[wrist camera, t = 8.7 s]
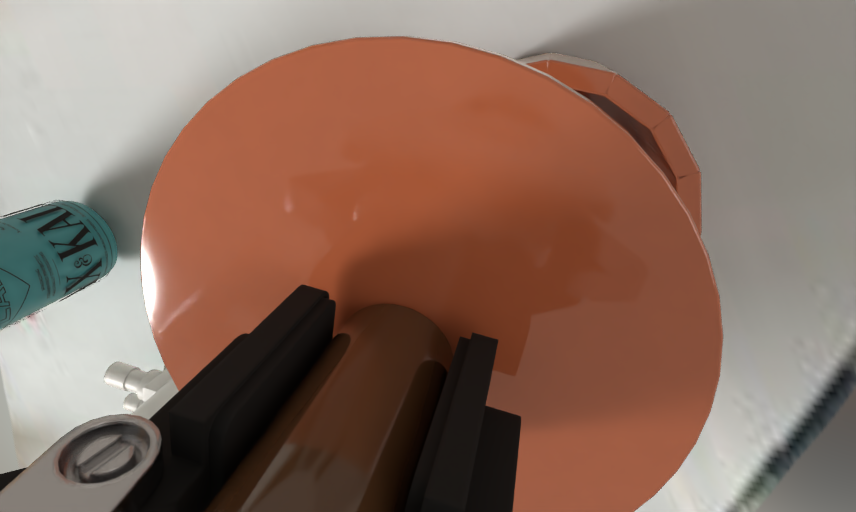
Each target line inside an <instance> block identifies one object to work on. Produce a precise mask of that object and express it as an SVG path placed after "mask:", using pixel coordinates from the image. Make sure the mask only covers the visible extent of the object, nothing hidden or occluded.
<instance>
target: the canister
mask: <svg viewBox="0 0 856 512" xmlns="http://www.w3.org/2000/svg"><path fill="white" fill-rule="evenodd" d="M516 60H517V61H519V62H521V63H524V64H526V65H528V66H531V67H533V68H535V69H537V70H540V71H542V72H544V73H547V74H549V75H551V76H552V77H554V78H555V79H557V80H559V81H560V82H562V83H563V84H565V85H567V86H568V87H570V88H572V89H573V90H575V91H576V92H578V93H580V94H581V95H583V96H584V97H586V98H588V99H589V100H591V101H592V102H593V103H594V104H596V105H597V106H598V107H599V108H600V109H602V110H603V111H604V112H605V113H606V114H607V115H609V116H610V117H611V118H612V119H613V120H615V121H616V122H617V123H618V124H619V125H621V126H622V127H623V128H624V129H625V130H627V131H628V132H629V133H630V135H631V136H632V137H633V138H634V139H635V140H636V141H637V142H638V144H639V145H640V146H641V147H642V148H643V149H644V150H645V151H646V153H647V154H648V155H649V156H650V157H651V158H652V159H653V160H654V162H655V163H656V164H657V165H658V166H659V167H660V169H661V170H662V171H663V172H664V174H665V175H666V177H667V178H668V180H669V181H670V183H671V185H672V186H673V188H674V189H675V191H676V192H677V194H678V195H679V197H680V198H681V200H682V201H683V203H684V205H685V206H686V208H687V209H688V211H689V212H690V214H691V216H692V218H693V221H694V223H695V225H696V227H697V230H698V232H699V234H700V236H701V232H702V219H701V172H700V169H699V167H698V165H697V163H696V161H695V159H694V157H693V155H692V153H691V151H690V149H689V147H688V145H687V143H686V141H685V139H684V137H683V135H682V133H681V132H680V130H679V128H678V126H677V124H676V122H675V120H674V118H673V116H672V115H671V114H670V113H669V111H667V110H666V109H665V108H663V107H662V106H661V105H659V104H658V103H657V102H655V101H654V100H653V99H651V98H650V97H648V96H647V95H646V94H644V93H643V92H642V91H640V90H639V89H638V88H636V87H635V86H634V85H632V84H631V83H630V82H628V81H627V80H626V79H624V78H623V77H622V76H620V75H619V74H617V73H615V72H613V71H612V70H610V69H608V68H606V67H604V66H603V65H601V64H599V63H597V62H595V61H592V60H587V59H582V58H577V57H573V56H567V55H563V54H558V53H545V54H540V55H535V56H530V57H526V58H521V59H516Z"/></svg>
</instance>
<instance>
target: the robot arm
mask: <svg viewBox="0 0 856 512" xmlns="http://www.w3.org/2000/svg"><path fill="white" fill-rule="evenodd" d="M335 311H336V302H335V301H334V300H331V299H329V293H328V292H327V291H324V290H321V289H317V288H314V287H310V286H307V285H300V286H299V287H297V288H296V289H295V290H294V291H293V292H292V293H291V294H290V295H289V296H288V297H287V298H286V299H285V300H284V301H283V302H282V303H281V304H280V305H279V306H278V307H277V308H276V309H275V310H274V311H273V312H271V313H270V314H269V315H268V316H267V317H266V318H265V319H264V320H263V321H262V322H261V323H260V324H259V325H258V326H257V327H256V328H255V329H254V330H253V331H252V332H251V333H250V334H248V333H245V334H241V335H240V336H238V337H237V338H235V339H234V340H233V341H232V342H231V343H230V344H229V345H228V346H227V347H226V348H225V349H224V350H223V351H221V352H220V353H219V354H218V355H217V356H216V357H215V358H214V359H213V360H212V361H211V362H210V363H209V364H208V365H207V366H205V367H204V368H203V369H202V370H201V371H200V372H199V373H198V374H197V375H196V376H195V377H194V378H193V379H192V380H190V381H189V382H188V383H187V384H186V385H185V386H184V387H183V388H182V389H181V390H180V391H178V389H177V387H176V385H175V383H174V381H173V380H172V378H171V376H170V374H169V372H168V370H167V368H166V366H164V370H163V371H159V370H151V371H149V372H145V371H142V370H141V369H139V368H137V367H134V366H131V365H128V364H125V363H122V362H115V363H113V364H112V365H111V366H110V367H109V368H108V369H107V371H106V373H105V376H104V382H105V383H106V384H107V385H110V386H113V387H116V388H119V389H122V390H125V391H132V392H135V393H137V394H135V393H130V394H129V395H128V396H127V397H126V398H125V400H124V402H123V408H124V409H126V410H129V411H132V412H133V413H132V414H130V415H129V414H119V415H108V416H105V417H101V418H97V419H93V420H91V421H88V422H86V423H84V424H82V425H80V426H78V427H75V428H74V429H73V430H71V431H70V432H68V433H67V434H66V435H64V436H63V437H61V438H60V439H59V440H58V441H57V442H56V443H54V444H53V445H52V446H51V447H50V448H49V449H48V450H47V451H45V452H44V453H43V454H42V455H41V456H40V457H39V458H38V459H36V460H35V461H34V462H33V463H32V464H31V465H30V466H29V467H27V468H23V469H19V470H15V471H11V472H7V473H4V474H0V512H204V510H205V509H206V508H207V506H208V505H209V504H210V502H211V501H212V500H213V498H214V497H215V496H216V494H217V493H218V492H219V490H220V489H221V488H222V486H223V485H224V484H225V482H226V481H227V480H228V478H229V477H230V476H231V474H232V473H233V472H234V470H235V469H236V468H237V466H238V465H239V463H240V462H241V461H242V459H243V458H244V457H245V455H246V454H247V453H248V451H249V450H250V449H251V447H252V446H253V445H254V443H255V442H256V441H257V439H258V438H259V437H260V435H261V434H262V433H263V431H264V430H265V429H266V427H267V426H268V425H269V423H270V422H271V421H272V419H273V418H274V417H275V415H276V414H277V413H278V411H279V410H280V409H281V407H282V406H283V405H284V403H285V402H286V401H287V399H288V398H289V397H290V395H291V394H292V393H293V391H294V390H295V389H296V387H297V386H298V384H299V383H300V382H301V380H302V379H303V378H304V376H305V375H306V374H307V372H308V371H309V370H310V368H311V367H312V366H313V364H314V363H315V362H316V360H317V359H318V358H319V356H320V355H321V354H322V352H323V351H324V350H325V348H326V347H327V346H328V344H329V343H330V342H331V340H332V339H333V329H334V320H335ZM497 345H498V339H495V338H491V337H487V336H484V335H480V334H477V333H473V332H472V335H471V338H470V339H468V338H465V337H461V336H460V338H459V341H458V344H457V347H456V350H455V353H454V356H453V359H452V362H451V365H450V368H449V371H448V374H447V377H446V381H445V384H444V387H443V390H442V393H441V396H440V399H439V402H438V405H437V408H436V411H435V414H434V417H433V420H432V423H431V426H430V429H429V432H428V435H427V438H426V441H425V444H424V447H423V450H422V453H421V456H420V459H419V462H418V465H417V469H416V472H415V475H414V478H413V481H412V485H411V488H410V492H409V495H408V499H407V503H406V507H405V512H513V502H514V492H515V482H516V471H517V461H518V451H519V440H520V430H521V416H519V415H515V414H512V413H509V412H506V411H502V410H499V409H496V408H492V407H489V406H486V401H487V396H488V391H489V386H490V381H491V376H492V371H493V365H494V360H495V355H496V350H497Z"/></svg>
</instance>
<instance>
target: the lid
mask: <svg viewBox="0 0 856 512" xmlns="http://www.w3.org/2000/svg"><path fill="white" fill-rule="evenodd" d="M140 256H141V282H142V288H143V294H144V301H145V307H146V312H147V315H148V319H149V322H150V326H151V329H152V333H153V336H154V339H155V342H156V344H157V347H158V349H159V352H160V354H161V357H162V359H163V362H164V364H165V366H166V368H167V370H168V372H169V374H170V376H171V378H172V380H173V381H174V383H175V385H176V387H177V389H178V391H180V390H181V389H182V388H183V387H184V386H185V385H186V384H187V383H188V382H189V381H190V380H192V379H193V378H194V377H195V376H196V375H197V374H198V373H199V372H200V371H201V370H202V369H203V368H204V367H205V366H207V365H208V364H209V363H210V362H211V361H212V360H213V359H214V358H215V357H216V356H217V355H218V354H219V353H220V352H221V351H223V350H224V349H225V348H226V347H227V346H228V345H229V344H230V343H231V342H232V341H233V340H234V339H235V338H237V337H238V336H240V335H241V334H245V333H248V334H250V333H251V332H252V331H253V330H254V329H255V328H256V327H257V326H258V325H259V324H260V323H261V322H262V321H263V320H264V319H265V318H266V317H267V316H268V315H269V314H270V313H271V312H273V311H274V310H275V309H276V308H277V307H278V306H279V305H280V304H281V303H282V302H283V301H284V300H285V299H286V298H287V297H288V296H289V295H290V294H291V293H292V292H293V291H294V290H295V289H296V288H297V287H299V286H300V285H307V286H310V287H314V288H317V289H321V290H324V291H327V292H328V293H329V299H331V300H334V301H335V302H336V311H335V320H334V329H333V339H332V340H331V342H330V343H329V344H328V346H327V347H326V348H325V350H324V351H323V352H322V354H321V355H320V356H319V358H318V359H317V360H316V362H315V363H314V364H313V366H312V367H311V368H310V370H309V371H308V372H307V374H306V375H305V376H304V378H303V379H302V380H301V382H300V383H299V384H298V386H297V387H296V389H295V390H294V391H293V393H292V394H291V395H290V397H289V398H288V399H287V401H286V402H285V403H284V405H283V406H282V407H281V409H280V410H279V411H278V413H277V414H276V415H275V417H274V418H273V419H272V421H271V422H270V423H269V425H268V426H267V427H266V429H265V430H264V431H263V433H262V434H261V435H260V437H259V438H258V439H257V441H256V442H255V443H254V445H253V446H252V447H251V449H250V450H249V451H248V453H247V454H246V455H245V457H244V458H243V459H242V461H241V462H240V463H239V465H238V466H237V468H236V469H235V470H234V472H233V473H232V474H231V476H230V477H229V478H228V480H227V481H226V482H225V484H224V485H223V486H222V488H221V489H220V490H219V492H218V493H217V494H216V496H215V497H214V498H213V500H212V501H211V502H210V504H209V505H208V506H207V508H206V509H205V510H204V512H405V507H406V503H407V499H408V495H409V492H410V488H411V485H412V481H413V478H414V475H415V472H416V469H417V465H418V462H419V459H420V456H421V453H422V450H423V447H424V444H425V441H426V438H427V435H428V432H429V429H430V426H431V423H432V420H433V417H434V414H435V411H436V408H437V405H438V402H439V399H440V396H441V393H442V390H443V387H444V384H445V381H446V377H447V374H448V371H449V368H450V365H451V362H452V359H453V356H454V353H455V350H456V347H457V344H458V341H459V338H460V336H461V337H465V338H468V339H470V338H471V335H472V332H473V333H477V334H480V335H484V336H487V337H491V338H495V339H498V345H497V350H496V355H495V360H494V365H493V371H492V376H491V381H490V386H489V391H488V396H487V401H486V406H489V407H492V408H496V409H499V410H502V411H506V412H509V413H512V414H515V415H519V416H521V430H520V440H519V451H518V461H517V471H516V482H515V492H514V502H513V512H634V511H635V510H637V509H638V508H639V507H640V506H642V505H643V504H644V503H645V502H647V501H648V500H649V499H650V498H652V497H653V496H654V495H655V494H656V493H657V492H658V491H659V490H660V489H661V488H662V487H663V486H664V485H665V484H666V483H667V481H668V480H669V479H670V478H671V477H672V476H673V475H674V474H675V473H676V472H677V471H678V469H679V468H680V466H681V465H682V463H683V462H684V460H685V459H686V457H687V456H688V454H689V453H690V451H691V450H692V448H693V447H694V445H695V444H696V442H697V440H698V438H699V436H700V433H701V431H702V429H703V427H704V425H705V422H706V420H707V418H708V416H709V414H710V411H711V408H712V404H713V400H714V396H715V392H716V389H717V385H718V381H719V377H720V370H721V358H722V346H723V328H722V317H721V306H720V296H719V292H718V288H717V284H716V281H715V277H714V273H713V269H712V265H711V262H710V258H709V254H708V252H707V250H706V248H705V245H704V243H703V241H702V239H701V236H700V234H699V232H698V230H697V227H696V225H695V223H694V221H693V218H692V216H691V214H690V212H689V211H688V209H687V208H686V206H685V205H684V203H683V201H682V200H681V198H680V197H679V195H678V194H677V192H676V191H675V189H674V188H673V186H672V185H671V183H670V181H669V180H668V178H667V177H666V175H665V174H664V172H663V171H662V170H661V169H660V167H659V166H658V165H657V164H656V163H655V162H654V160H653V159H652V158H651V157H650V156H649V155H648V154H647V153H646V151H645V150H644V149H643V148H642V147H641V146H640V145H639V144H638V142H637V141H636V140H635V139H634V138H633V137H632V136H631V135H630V133H629V132H628V131H627V130H625V129H624V128H623V127H622V126H621V125H619V124H618V123H617V122H616V121H615V120H613V119H612V118H611V117H610V116H609V115H607V114H606V113H605V112H604V111H603V110H602V109H600V108H599V107H598V106H597V105H596V104H594V103H593V102H592V101H591V100H589V99H588V98H586V97H584V96H583V95H581V94H580V93H578V92H576V91H575V90H573V89H572V88H570V87H568V86H567V85H565V84H563V83H562V82H560V81H559V80H557V79H555V78H554V77H552V76H551V75H549V74H547V73H544V72H542V71H540V70H537V69H535V68H533V67H531V66H528V65H526V64H524V63H521V62H519V61H517V60H515V59H512V58H510V57H508V56H505V55H503V54H499V53H495V52H492V51H488V50H485V49H481V48H477V47H474V46H470V45H466V44H463V43H459V42H454V41H445V40H437V39H429V38H421V37H413V36H387V37H355V38H349V39H344V40H338V41H332V42H327V43H321V44H316V45H311V46H308V47H305V48H303V49H300V50H297V51H294V52H291V53H288V54H285V55H282V56H280V57H277V58H274V59H272V60H270V61H268V62H266V63H264V64H262V65H260V66H259V67H257V68H255V69H253V70H251V71H249V72H248V73H246V74H244V75H242V76H240V77H238V78H237V79H236V80H234V81H233V82H232V83H230V84H229V85H228V86H227V87H225V88H224V89H223V90H222V91H220V92H219V93H218V94H216V95H215V96H214V97H213V98H211V99H210V100H209V101H208V102H207V103H206V104H205V105H204V106H203V107H202V108H201V109H200V110H199V112H198V113H197V114H196V115H195V116H194V117H193V118H192V119H191V120H190V121H189V123H188V124H187V125H186V126H185V127H184V128H183V130H182V131H181V133H180V134H179V136H178V137H177V139H176V140H175V142H174V144H173V145H172V147H171V148H170V150H169V151H168V153H167V154H166V156H165V158H164V160H163V162H162V165H161V167H160V169H159V172H158V174H157V176H156V178H155V181H154V183H153V185H152V188H151V192H150V196H149V199H148V203H147V207H146V211H145V215H144V220H143V229H142V238H141V247H140Z"/></svg>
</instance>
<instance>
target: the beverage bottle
mask: <svg viewBox="0 0 856 512" xmlns="http://www.w3.org/2000/svg"><path fill="white" fill-rule="evenodd" d="M54 201H57V200H54ZM58 201H59V202H55V203H53V202H51V204H48V205H45V206H43V205H44V204H40V205H42V206H41V207H38V208H35V209H32V210H28V211H25V212H22V213H19V214H15V215H12V216H9V217H6V218H2V219H0V329H2V328H5V327H6V326H8V325H10V324H11V325H13V324H12V323H14V322H15V324H18V323H17V322H20V321H18V320H20V319H22V318H25V316H27V315H30V314H31V313H33V312H35V311H37V310H39V309H41V308H43V307H45V306H47V305H49V304H51V303H53V302H55V301H57V300H59V299H61V298H63V297H65V296H67V295H69V294H70V293H72V292H74V291H76V290H78V289H79V290H78V291H81V290H83V289H85V287H86V288H87V286H90V285H93V284H92V283H94V282H95V283H96V281H97V280H98V279H100V278H102V277H103V276H105V275H106V274H107V273H108V272H110V270H111V269H112V268H113V267H114V265H115V263H116V260H117V245H116V241H115V238H114V235H113V233H112V231H111V229H110V228H109V226H108V225H107V223H106V222H105V221H104V220H103V219H102V218H101V217H100V216H99V215H98V214H97V213H96V212H95V211H94V210H92V209H91V208H89V207H87V206H86V205H83V204H81V203H78V202H73V201H62V200H58ZM47 203H48V202H47ZM45 204H46V203H45ZM40 205H36V206H34V207H37V206H40ZM34 207H31V208H34ZM27 209H30V208H27ZM27 209H24V210H27ZM24 210H21V211H24ZM17 212H20V211H17ZM17 212H13V213H10V214H8V215H11V214H14V213H17ZM4 216H7V215H4ZM1 217H3V216H1ZM108 274H109V273H108ZM108 274H107V275H108ZM100 280H101V279H100ZM98 282H99V281H98ZM82 287H83V288H82ZM78 291H76V292H78ZM76 292H74V293H76ZM74 293H72V294H71V295H73V294H74ZM71 295H69V296H71ZM69 296H67V297H66V298H68V297H69ZM66 298H64V299H66ZM64 299H62V300H64ZM62 300H60V301H62ZM60 301H59V302H60ZM41 310H42V309H41ZM44 310H45V309H44ZM42 311H43V310H42ZM35 313H36V312H35ZM36 314H37V313H36ZM31 315H34V313H33V314H31ZM16 321H17V322H16ZM8 327H10V326H8Z"/></svg>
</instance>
